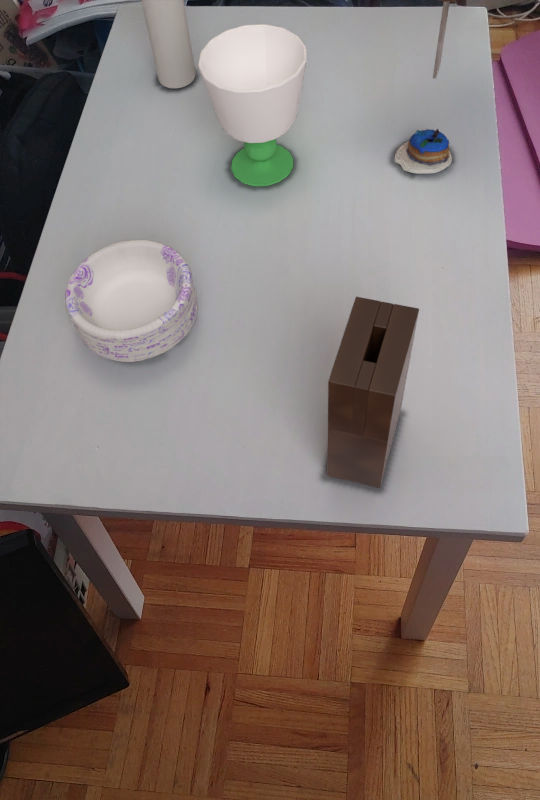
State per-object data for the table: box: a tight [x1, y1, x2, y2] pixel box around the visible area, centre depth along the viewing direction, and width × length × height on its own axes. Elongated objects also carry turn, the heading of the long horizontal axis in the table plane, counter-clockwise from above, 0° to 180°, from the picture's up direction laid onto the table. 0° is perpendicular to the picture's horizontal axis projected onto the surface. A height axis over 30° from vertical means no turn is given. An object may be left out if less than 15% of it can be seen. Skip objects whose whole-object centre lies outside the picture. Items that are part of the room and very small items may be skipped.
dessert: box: [393, 128, 453, 175], centre depth 98 cm, size 8×7×6 cm
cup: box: [198, 23, 308, 187], centre depth 94 cm, size 14×14×16 cm
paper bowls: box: [64, 239, 199, 363], centre depth 85 cm, size 15×15×8 cm
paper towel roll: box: [140, 0, 197, 89], centre depth 102 cm, size 7×6×21 cm
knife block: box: [326, 296, 420, 489], centre depth 71 cm, size 6×10×18 cm, turn 163°
